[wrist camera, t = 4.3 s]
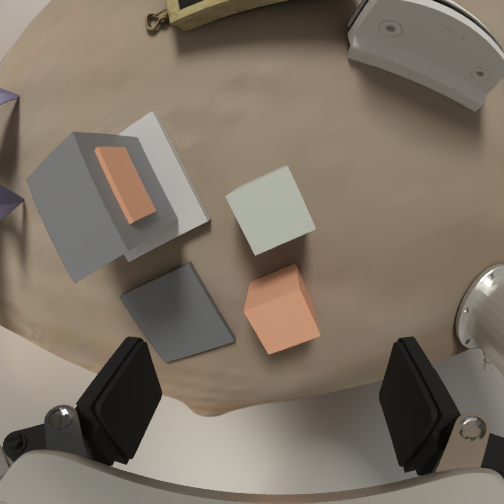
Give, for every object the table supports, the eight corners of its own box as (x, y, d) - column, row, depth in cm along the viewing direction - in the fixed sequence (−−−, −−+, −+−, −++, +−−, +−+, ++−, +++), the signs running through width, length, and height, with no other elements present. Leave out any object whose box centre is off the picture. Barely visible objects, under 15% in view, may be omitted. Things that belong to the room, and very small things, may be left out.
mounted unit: (210, 218, 27) (170, 256, 17) (133, 258, 29) (74, 306, 19) (157, 112, 24) (92, 91, 14) (86, 164, 26) (12, 174, 16)
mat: (235, 337, 31) (234, 341, 30) (166, 358, 33) (164, 362, 32) (190, 261, 29) (188, 264, 28) (122, 293, 31) (119, 296, 30)
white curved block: (343, 57, 21) (373, -16, 11) (343, 28, 21) (367, -39, 11) (477, 113, 21) (530, 76, 11) (470, 82, 21) (515, 43, 11)
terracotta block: (313, 303, 29) (320, 335, 24) (270, 320, 30) (268, 354, 25) (295, 262, 28) (299, 289, 22) (249, 282, 29) (243, 311, 23)
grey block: (307, 214, 26) (316, 229, 21) (259, 235, 27) (255, 255, 22) (285, 165, 25) (287, 166, 19) (236, 188, 26) (225, 196, 20)
